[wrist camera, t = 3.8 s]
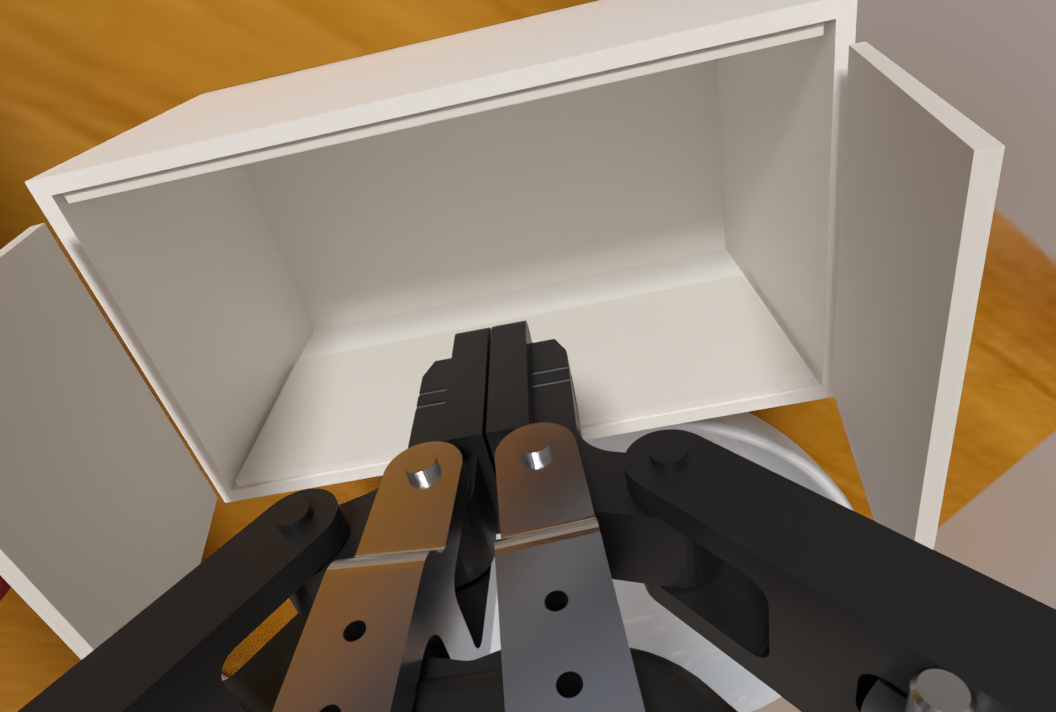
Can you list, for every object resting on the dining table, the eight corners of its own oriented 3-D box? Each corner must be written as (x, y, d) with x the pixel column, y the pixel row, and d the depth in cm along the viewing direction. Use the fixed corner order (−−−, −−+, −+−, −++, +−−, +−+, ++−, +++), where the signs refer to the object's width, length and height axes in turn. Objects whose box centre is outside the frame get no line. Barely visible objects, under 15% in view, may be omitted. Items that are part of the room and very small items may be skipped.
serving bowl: (885, 370, 30) (975, 473, 24) (718, 646, 41) (752, 764, 35) (430, 285, 27) (408, 378, 22) (380, 605, 38) (356, 725, 32)
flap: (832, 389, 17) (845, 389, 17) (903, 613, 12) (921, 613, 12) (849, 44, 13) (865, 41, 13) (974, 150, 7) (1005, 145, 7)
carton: (203, 93, 23) (23, 181, 15) (721, -29, 21) (857, -9, 13) (311, 337, 28) (227, 505, 20) (733, 254, 27) (835, 399, 18)
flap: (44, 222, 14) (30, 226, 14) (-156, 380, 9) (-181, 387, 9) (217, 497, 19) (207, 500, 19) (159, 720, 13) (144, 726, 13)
